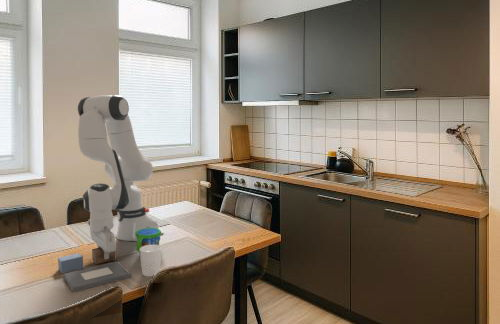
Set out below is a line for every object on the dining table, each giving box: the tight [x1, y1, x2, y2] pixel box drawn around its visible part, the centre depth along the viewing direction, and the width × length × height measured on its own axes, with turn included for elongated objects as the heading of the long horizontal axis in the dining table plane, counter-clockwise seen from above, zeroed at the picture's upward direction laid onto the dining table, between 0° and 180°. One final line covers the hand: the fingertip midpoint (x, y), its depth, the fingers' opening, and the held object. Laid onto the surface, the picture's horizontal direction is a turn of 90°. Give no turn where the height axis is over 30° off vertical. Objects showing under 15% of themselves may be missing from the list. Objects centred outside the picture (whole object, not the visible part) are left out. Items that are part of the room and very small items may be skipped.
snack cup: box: [135, 228, 161, 253], centre depth 171 cm, size 16×10×10 cm
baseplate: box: [63, 261, 131, 293], centre depth 148 cm, size 20×14×2 cm
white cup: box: [139, 244, 162, 277], centre depth 152 cm, size 8×8×10 cm
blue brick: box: [57, 252, 84, 274], centre depth 156 cm, size 8×4×5 cm, turn 129°
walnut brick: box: [91, 247, 117, 265], centre depth 163 cm, size 8×4×5 cm, turn 127°
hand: (103, 256), depth 163 cm, fingers closed on walnut brick, 4 cm apart
